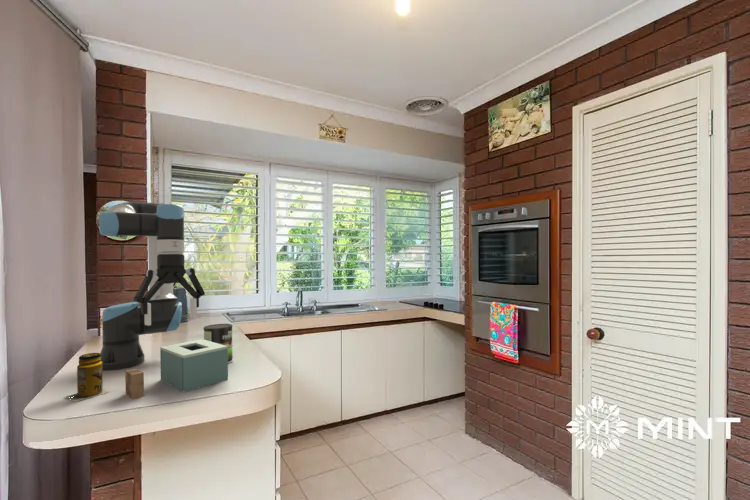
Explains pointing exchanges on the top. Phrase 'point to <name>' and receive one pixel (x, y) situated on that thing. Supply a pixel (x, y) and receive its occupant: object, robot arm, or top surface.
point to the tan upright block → (134, 383)
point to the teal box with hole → (194, 364)
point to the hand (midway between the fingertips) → (171, 321)
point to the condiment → (88, 377)
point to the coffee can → (220, 336)
